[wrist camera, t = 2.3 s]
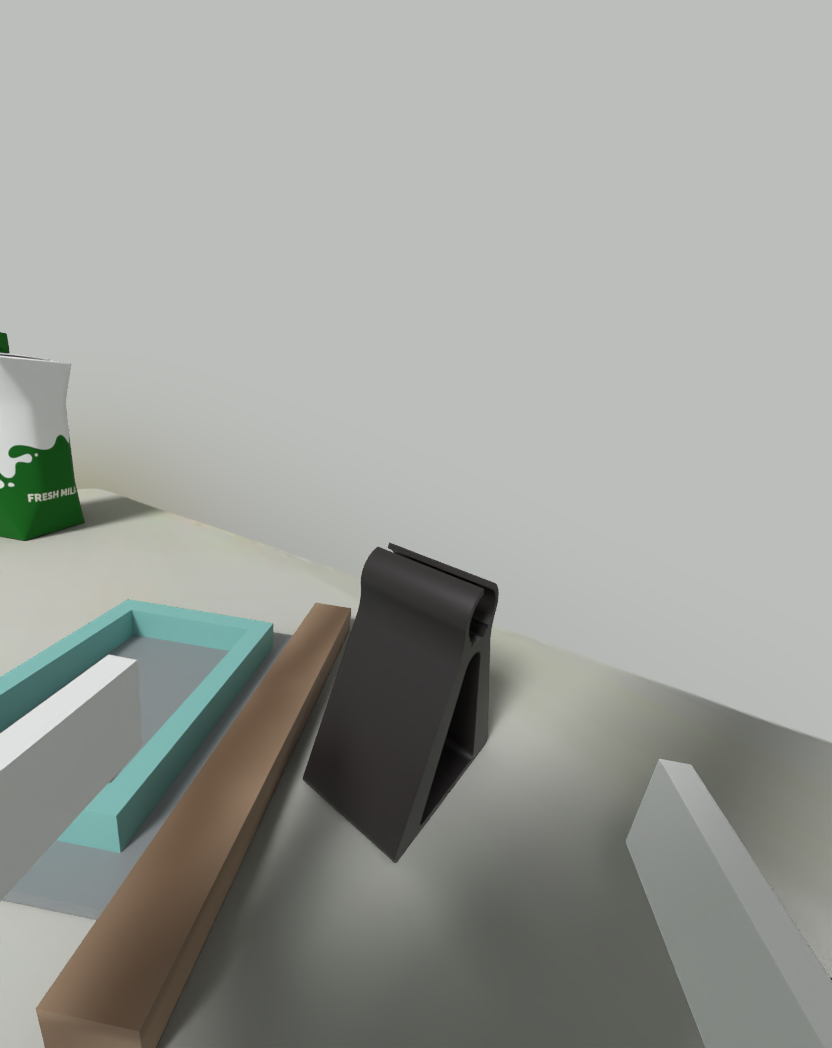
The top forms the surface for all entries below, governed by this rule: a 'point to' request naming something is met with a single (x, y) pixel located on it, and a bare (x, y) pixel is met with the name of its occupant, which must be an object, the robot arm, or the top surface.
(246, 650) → the cradle
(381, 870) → the top surface
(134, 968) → the strip
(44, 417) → the milk carton
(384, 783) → the phone stand
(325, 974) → the top surface
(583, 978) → the top surface
